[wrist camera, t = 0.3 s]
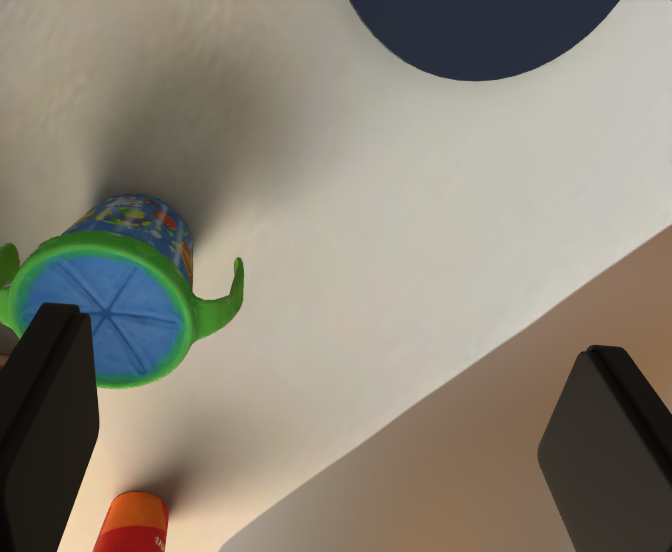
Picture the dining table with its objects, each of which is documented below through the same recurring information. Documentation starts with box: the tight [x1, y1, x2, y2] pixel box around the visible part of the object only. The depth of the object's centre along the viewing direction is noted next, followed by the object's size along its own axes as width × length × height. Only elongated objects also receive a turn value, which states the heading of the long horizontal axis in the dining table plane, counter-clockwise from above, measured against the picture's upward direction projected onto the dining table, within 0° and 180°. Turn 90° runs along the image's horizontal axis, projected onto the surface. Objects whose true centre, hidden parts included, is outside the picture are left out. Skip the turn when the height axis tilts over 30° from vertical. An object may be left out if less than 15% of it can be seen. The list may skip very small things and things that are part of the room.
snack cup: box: [0, 194, 244, 389], centre depth 40 cm, size 16×10×10 cm
